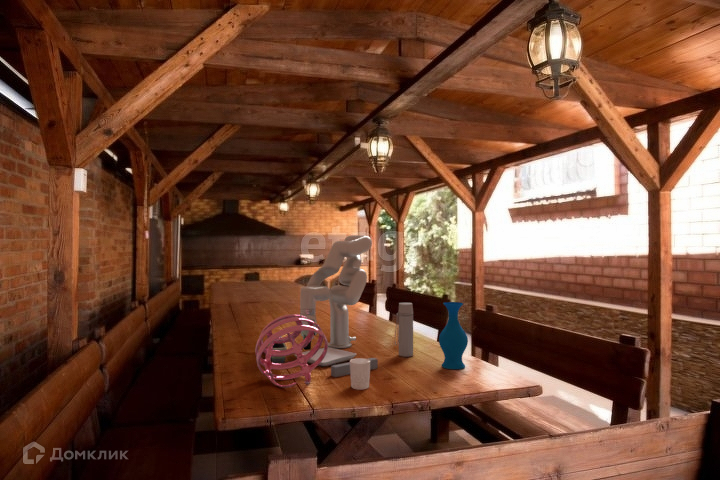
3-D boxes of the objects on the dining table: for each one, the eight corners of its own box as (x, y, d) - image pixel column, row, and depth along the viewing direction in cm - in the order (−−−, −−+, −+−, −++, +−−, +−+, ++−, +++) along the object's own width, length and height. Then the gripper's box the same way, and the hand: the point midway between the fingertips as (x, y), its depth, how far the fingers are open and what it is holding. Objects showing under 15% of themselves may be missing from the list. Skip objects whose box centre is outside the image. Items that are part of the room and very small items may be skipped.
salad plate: (293, 361, 218) (293, 353, 218) (327, 353, 233) (327, 346, 233) (323, 370, 203) (323, 362, 203) (357, 360, 218) (357, 353, 218)
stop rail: (373, 366, 207) (373, 357, 207) (377, 368, 204) (377, 359, 204) (331, 375, 194) (330, 365, 194) (334, 377, 191) (334, 367, 191)
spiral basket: (335, 341, 168) (313, 292, 189) (258, 366, 161) (243, 312, 181) (339, 388, 186) (318, 338, 206) (270, 412, 178) (255, 358, 198)
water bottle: (415, 354, 229) (415, 302, 228) (411, 358, 221) (411, 305, 221) (396, 352, 232) (396, 301, 231) (392, 356, 224) (392, 304, 224)
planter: (287, 363, 213) (287, 347, 213) (271, 364, 211) (270, 348, 211) (281, 349, 240) (281, 335, 239) (267, 350, 238) (267, 336, 238)
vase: (433, 365, 209) (433, 302, 209) (457, 362, 214) (457, 300, 214) (449, 372, 198) (448, 305, 198) (473, 369, 203) (473, 304, 203)
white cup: (349, 384, 182) (349, 358, 182) (369, 383, 183) (369, 357, 183) (350, 390, 175) (350, 363, 175) (371, 390, 175) (371, 363, 175)
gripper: (322, 313, 227) (321, 351, 227) (306, 309, 239) (306, 345, 239) (308, 314, 222) (308, 353, 222) (293, 310, 234) (293, 347, 234)
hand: (307, 349), depth 230 cm, fingers closed
